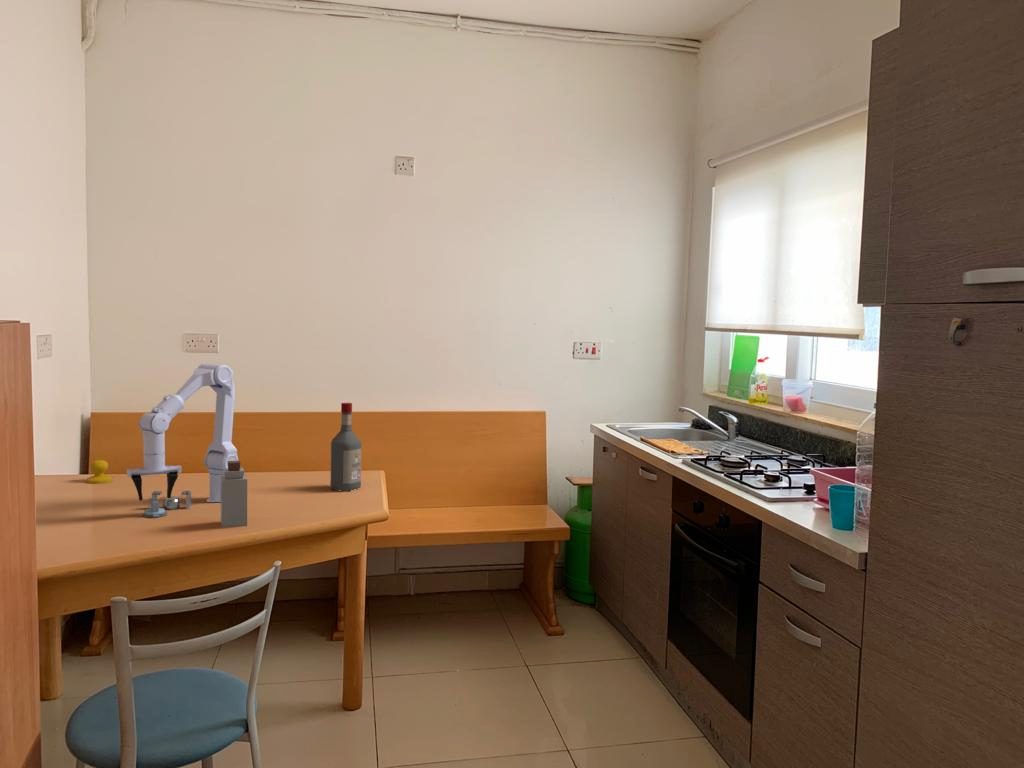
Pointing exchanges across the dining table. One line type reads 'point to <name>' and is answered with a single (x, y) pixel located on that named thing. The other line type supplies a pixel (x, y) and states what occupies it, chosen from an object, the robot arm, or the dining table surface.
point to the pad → (154, 517)
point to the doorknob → (99, 472)
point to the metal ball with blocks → (173, 500)
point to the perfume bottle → (233, 496)
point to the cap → (154, 509)
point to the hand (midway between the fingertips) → (154, 498)
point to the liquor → (345, 455)
